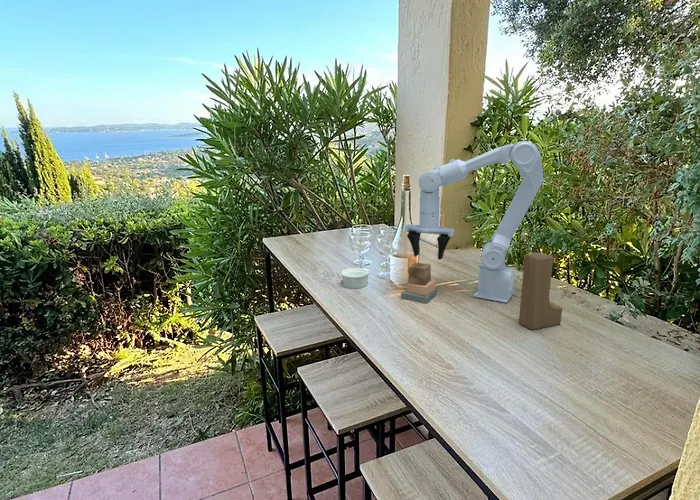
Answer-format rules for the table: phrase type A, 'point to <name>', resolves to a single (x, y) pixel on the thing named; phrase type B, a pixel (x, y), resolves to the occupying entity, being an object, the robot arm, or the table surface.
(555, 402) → the table surface
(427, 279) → the walnut cube
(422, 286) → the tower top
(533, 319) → the wooden block
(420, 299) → the tower base
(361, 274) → the ramekin
